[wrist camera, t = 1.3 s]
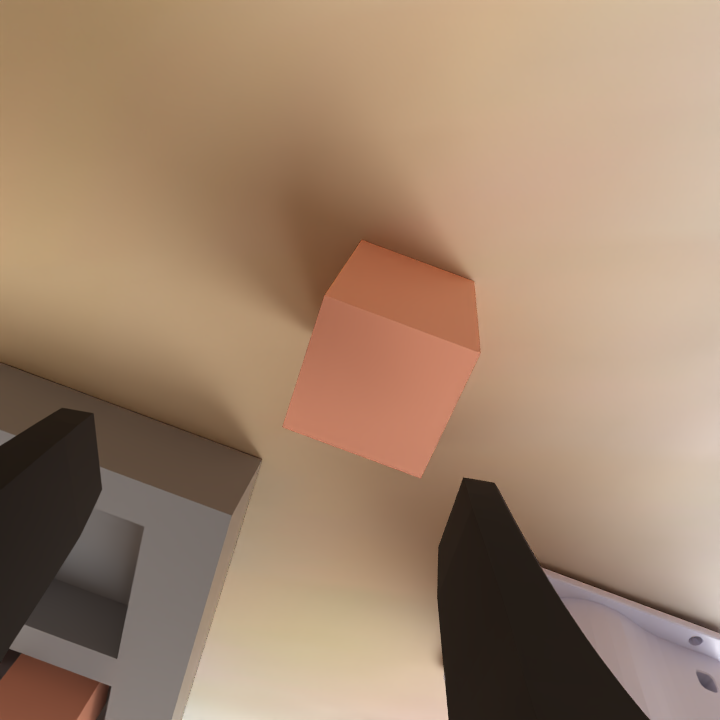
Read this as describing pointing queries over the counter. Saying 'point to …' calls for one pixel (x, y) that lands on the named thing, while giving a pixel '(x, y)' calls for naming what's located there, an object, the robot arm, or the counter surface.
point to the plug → (387, 359)
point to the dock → (126, 567)
